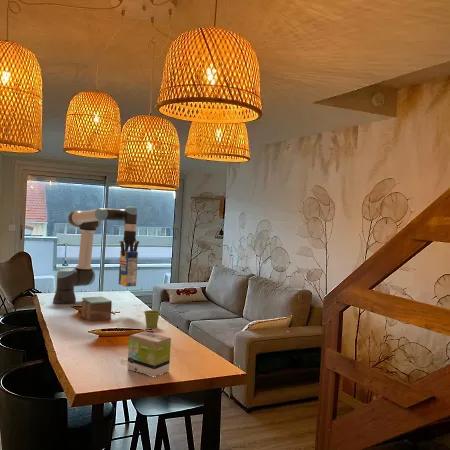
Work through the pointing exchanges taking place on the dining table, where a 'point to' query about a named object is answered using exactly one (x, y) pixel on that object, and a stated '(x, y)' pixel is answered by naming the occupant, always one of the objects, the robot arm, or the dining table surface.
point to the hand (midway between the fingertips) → (128, 266)
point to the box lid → (96, 300)
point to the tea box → (149, 353)
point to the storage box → (96, 311)
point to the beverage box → (128, 268)
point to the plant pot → (151, 318)
